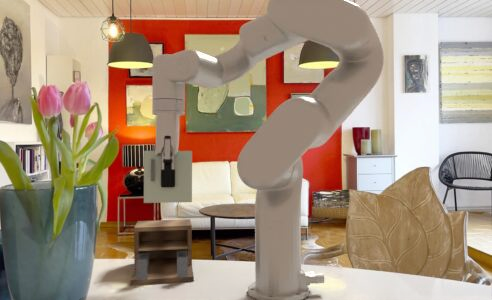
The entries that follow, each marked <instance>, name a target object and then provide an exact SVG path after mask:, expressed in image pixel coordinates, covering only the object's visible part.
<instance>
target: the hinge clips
mask: <svg viewBox="0 0 492 300" xmlns="http://www.w3.org/2000/svg"><path fill="white" fill-rule="evenodd" d="M148 273H149V253H138V258H137V259H136V280H146V279H148ZM179 277H188V256H187V251H177V278H179Z"/></svg>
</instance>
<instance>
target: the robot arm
mask: <svg viewBox="0 0 492 300" xmlns="http://www.w3.org/2000/svg"><path fill="white" fill-rule="evenodd" d="M266 7H267V8H266V13H265V14H262V15H260V16H258V17H256V18H254V19H252V20H250V21H248V22H246V23H243V24H242V25H241V26H240V28H239V32H238V33H239V36H238V37H239V39H238V42H236V44H235V45H234V46H233V47H231V48H230V49H228V50H226V51H224V52H222V53H220V54H217V55H215V56H211V55H208V54H207V53H203V52H201V51H199V50H196V49H193V48H192V49H184V50H180V51H178V52H174V53H173V54H168V53H164V54H158V55H156V56H155V57H154V58H153V59H152V90H151V91H152V94H151V95H152V100H151V101H152V105H151V106H152V109H151V110H152V111H151V112H152V115H153V116H154V115H155V116H156V119H155V120H156V124H155V149H154V151H155V155H156V156H159V155H158V153H161V151H162V170H161V187H175V170H174V156H176V155H177V152H178V151H179V146H180V145H179V143H180V122H181V121H180V119H181V116H186V114H185V113H186V112H185V111H186V105H185V103H186V89H185V88H186V84H188V85H191V86H196V87H197V86H198V87H200V88H204V89H217V88H219V87H222V86H225V85H227V84H230V83H231V82H233V81H236V80H239V79H241V78H242V77H244V76H245V75H247V74H248V73H249V72H250V71H251V70H253V69H254V68H255V67H256V66H257V64H258V63H260V62H261V61H264V60H267V59H269V58H271V57H273V56H275V55H278V54H280V53H282V52H284V51H287V50H289V49H292V48H294V47H296V46H299V45H301V44H303V43H306V42H308V41H311V42H314V43H316V44H318V45H322V46H324V47H326V48H329V49H330V50H331V51H332V52H333V53H334V54H336V56H338V58H339V62H338V64H336V65H337V66H336V67H335V68H334V69H332V70H331V71H330V72H329V73H328V74H327V75H326V76H325V77H324V78H323V79H322V80H321V82H320V83H319V84H318V85H317V86H316V88H315V89H314V90H312V92H311V93H310V94H309V95H308V96H294V97H291V98H289V99H287V100H285V101H284V102H282V103H280V105H278V106H277V107H276V108H275V109H274V110H273V112H272V113H271V114H270V115H269V116H268V117H267V119H266V120H265V121H264V122H263V123H262V125H260V127H259V128H258V129H257V131H255V133H254V134H253V135H252V136H251V137H250V138H249V140H248V141H247V142H246V143H245V145H244V146H243V148H242V149H241V151H240V153H239V155H238V157H237V161H236V162H237V163H236V171H237V173H238V174H237V175H238V177H239V179H240V180H241V181H242V183H243V184H244V185H245V186H247V187H248V188H250V189H252V190H256V192H255V193H256V195H255V202H254V203H255V204H254V232H255V233H254V244H255V245H254V253H255V255H254V258H255V259H254V260H255V261H254V263H255V264H254V265H255V266H254V267H255V269H254V270H255V272H254V273H255V275H254V276H255V281H254V282H252V283H251V284H249V285H248V289H247V293H248V295H249V296H250V298H253V299H255V300H305V299H306V298H307V297H308V296H309V295H310V288H309V286H310V284H315V285H316V284H324V283H325V275H324V274H323V273H315V272H314V271H310V272H309V271H307V272H305V271H304V270H302V243H301V242H302V238H301V237H302V236H301V235H302V229H301V228H302V227H301V226H302V225H301V224H302V223H301V222H302V221H301V218H302V214H301V213H302V212H301V211H302V209H301V208H302V205H301V204H302V187H303V177H304V165H303V159H302V157H303V156H304V154H306V152H307V151H308V150H309V149H315V148H319V147H322V146H323V145H324V144H326V143H328V141H329V140H330V138H331V137H332V136H333V135H334V134H335V132H336V131H337V130H338V129H339V128H340V127H341V126H342V125H343V123H345V121H346V120H347V119H348V118H349V117H350V115H351V114H353V112H354V110H355V109H357V107H358V106H359V105H360V103H361V102H363V100H364V99H365V98H366V97H367V96H368V95H369V93H371V91H372V90H373V88H374V87H375V86H376V84H377V82H378V81H379V79H380V77H381V75H382V71H383V68H384V67H383V66H384V62H385V61H384V60H385V59H384V56H385V55H384V50H383V47H382V43H381V40H380V37H379V36H378V35H379V34H378V33H377V30H376V28H375V25H373V23H372V21H371V18H370V17H369V15H368V13H367V12H366V11H365V10H364V9H363V8H362V7H361V6H360V5H358V4H356V3H355V2H352V1H349V0H268V3H267V6H266ZM164 154H165V156H164ZM170 154H172V156H170Z"/></svg>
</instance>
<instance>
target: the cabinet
mask: <svg viewBox="0 0 492 300" xmlns="http://www.w3.org/2000/svg"><path fill="white" fill-rule="evenodd" d="M192 227H193V226H192V222H191V219H186V218H185V219H165V220H163V219H162V220H161V219H160V220H137V222H136V224H135V225H134V227H133V234H134V235H133V239H134V241H133V245H134V247H133V249H134V253H133V254H134V255H133V256H134V257H133V258H134V260H133V261H134V263H133V265H134V269H133V272H132V276H131V278H130V281H129V282H130V283H129V285H130V286H135V285H151V284H167V283H170V284H171V283H181V282H183V283H185V282H195V279H194V278H195V275H194V272H193V271H194V269H193V248H192V247H193V244H192V243H193V240H192V237H193V234H192V232H193V230H192ZM177 251H187V256H188V277H179V278H177ZM138 253H149V273H148V279H146V280H136V259H137V258H138Z"/></svg>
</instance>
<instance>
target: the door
mask: <svg viewBox="0 0 492 300" xmlns="http://www.w3.org/2000/svg"><path fill="white" fill-rule="evenodd" d="M158 155H159V156H156V155H155V150H143V204H152V203H153V204H154V203H156V204H157V203H161V204H162V203H163V204H164V203H167V204H168V203H192V202H193V150H178V152H177V155H176V156H174V170H175V187H161V170H162V151H161V153H158ZM164 156H165V154H164ZM170 156H172V154H170Z"/></svg>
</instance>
